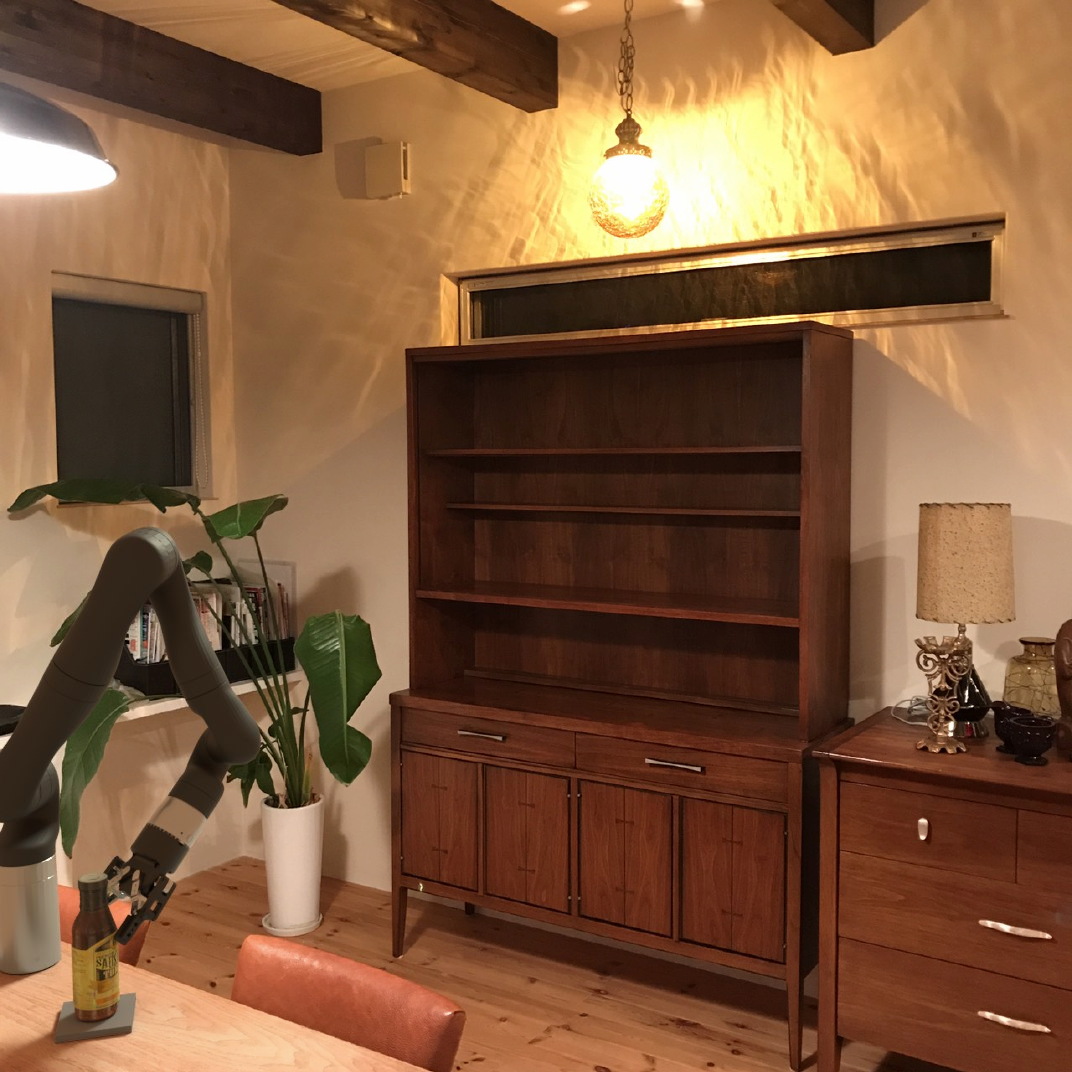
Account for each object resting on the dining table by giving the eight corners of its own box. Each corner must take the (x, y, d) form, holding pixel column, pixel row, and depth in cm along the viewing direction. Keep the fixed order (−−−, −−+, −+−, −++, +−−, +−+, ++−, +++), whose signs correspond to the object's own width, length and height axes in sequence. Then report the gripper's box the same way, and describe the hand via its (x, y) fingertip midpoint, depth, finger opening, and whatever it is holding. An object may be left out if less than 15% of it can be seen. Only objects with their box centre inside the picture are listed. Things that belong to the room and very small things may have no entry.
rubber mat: (63, 1008, 169) (63, 1002, 169) (136, 998, 172) (135, 992, 172) (55, 1043, 160) (54, 1036, 160) (131, 1032, 163) (131, 1025, 162)
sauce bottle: (104, 1026, 162) (98, 888, 161) (64, 1021, 164) (57, 885, 162) (130, 1003, 169) (123, 870, 167) (91, 999, 170) (84, 868, 168)
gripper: (126, 812, 176) (58, 910, 168) (180, 831, 167) (111, 936, 159) (159, 836, 181) (94, 933, 173) (213, 856, 171) (147, 959, 164)
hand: (102, 934), depth 166 cm, fingers open, 8 cm apart
